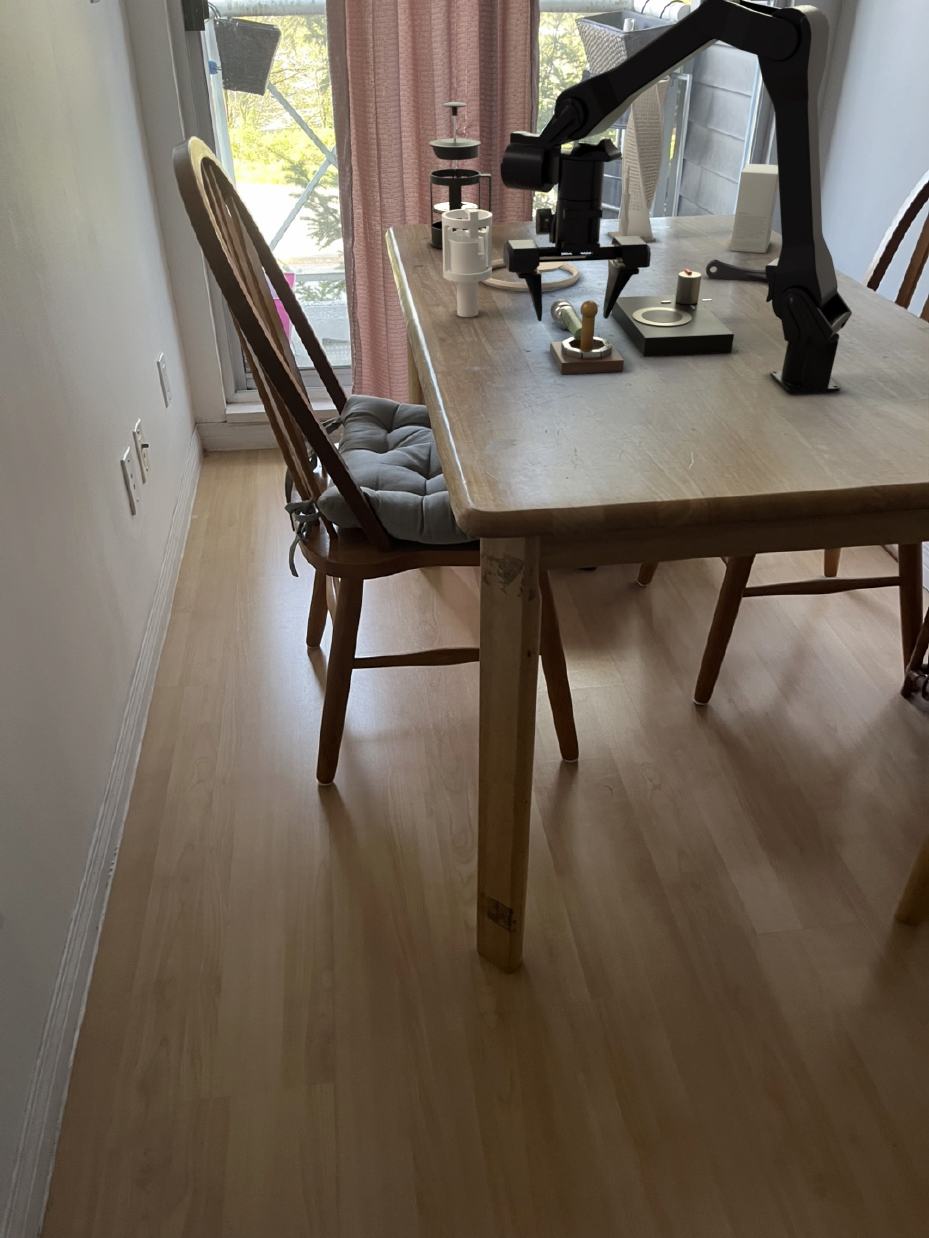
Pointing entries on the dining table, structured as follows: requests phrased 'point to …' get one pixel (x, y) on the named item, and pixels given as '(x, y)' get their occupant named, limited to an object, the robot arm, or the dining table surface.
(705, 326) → the stove
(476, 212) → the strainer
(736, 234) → the small box
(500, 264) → the hand towel holder
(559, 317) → the green handled ring tool
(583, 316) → the peg stand
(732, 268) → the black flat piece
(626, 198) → the skyscraper
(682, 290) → the burner knob
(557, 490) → the dining table surface
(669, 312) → the burner
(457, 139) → the french press
